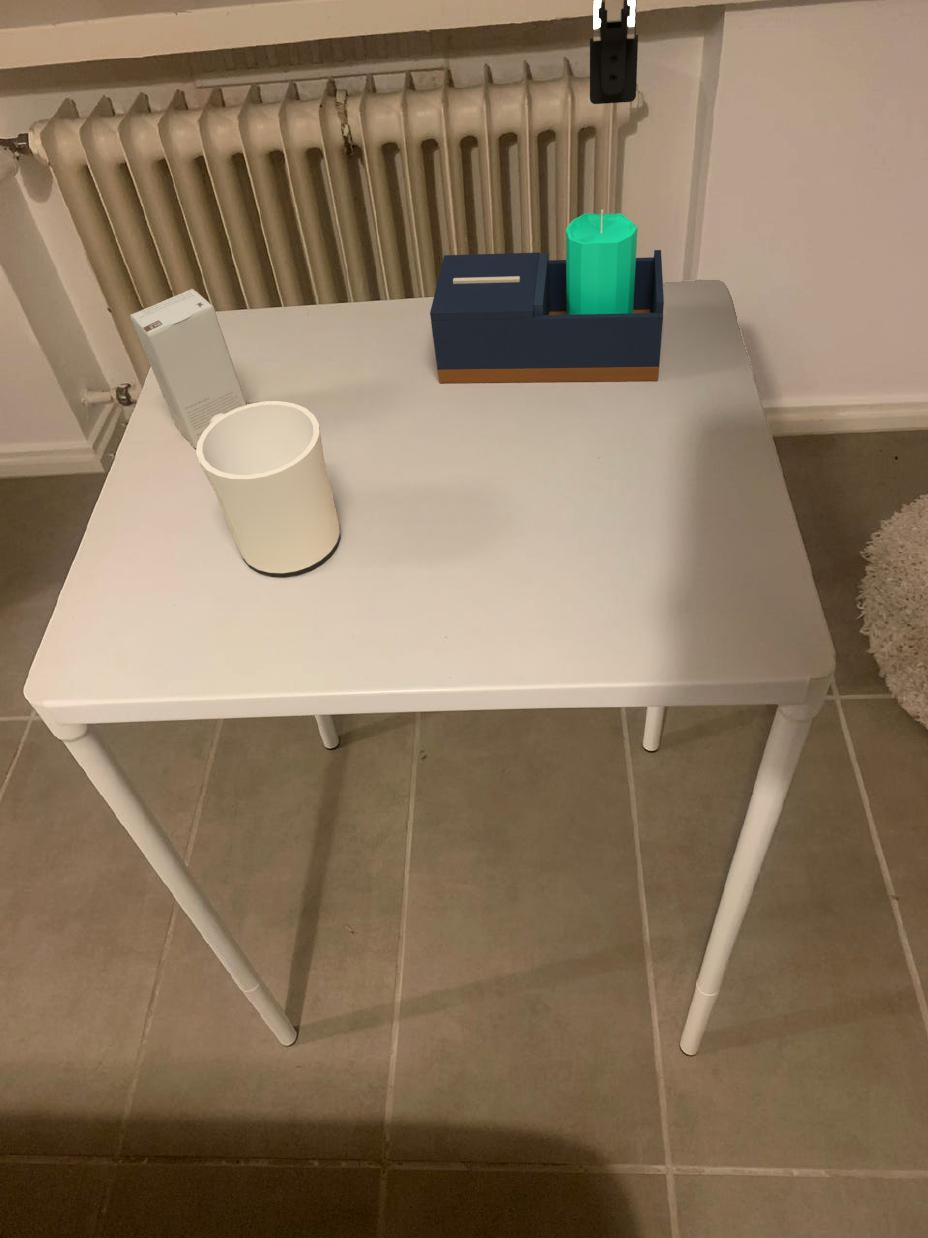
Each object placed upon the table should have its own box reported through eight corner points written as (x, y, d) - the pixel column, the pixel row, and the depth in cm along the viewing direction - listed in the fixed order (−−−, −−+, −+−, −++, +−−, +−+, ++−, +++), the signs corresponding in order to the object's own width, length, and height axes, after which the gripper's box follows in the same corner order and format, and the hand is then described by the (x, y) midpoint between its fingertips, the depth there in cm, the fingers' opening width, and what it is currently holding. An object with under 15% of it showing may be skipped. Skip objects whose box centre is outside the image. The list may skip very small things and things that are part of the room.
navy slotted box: (655, 320, 90) (660, 245, 84) (658, 381, 83) (664, 304, 78) (451, 324, 93) (443, 251, 87) (439, 383, 86) (429, 309, 80)
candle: (630, 355, 84) (637, 226, 75) (563, 354, 85) (562, 227, 76) (633, 319, 88) (639, 192, 79) (569, 318, 89) (568, 193, 80)
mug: (369, 537, 73) (344, 432, 66) (280, 600, 70) (243, 497, 62) (286, 479, 79) (255, 376, 71) (200, 534, 75) (157, 433, 68)
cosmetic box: (233, 402, 87) (193, 283, 78) (255, 424, 85) (216, 303, 75) (173, 430, 85) (126, 311, 76) (194, 453, 82) (147, 333, 73)
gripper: (689, -221, 50) (668, 119, 62) (677, -262, 61) (661, 33, 74) (548, -205, 51) (556, 126, 63) (562, -248, 62) (567, 40, 75)
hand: (613, 75), depth 69 cm, fingers open, 9 cm apart
